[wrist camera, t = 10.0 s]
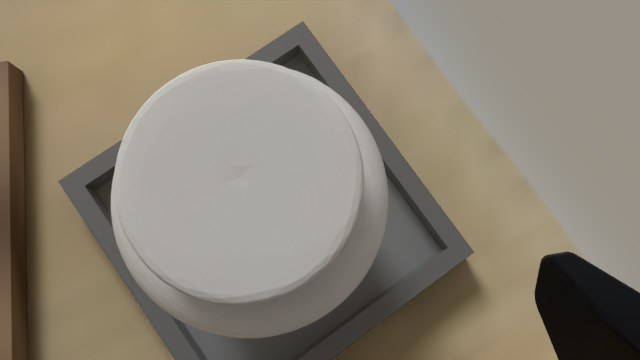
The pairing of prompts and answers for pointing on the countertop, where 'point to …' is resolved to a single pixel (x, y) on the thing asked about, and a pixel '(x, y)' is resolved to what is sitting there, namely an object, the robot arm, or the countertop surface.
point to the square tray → (373, 291)
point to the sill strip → (12, 217)
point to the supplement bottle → (248, 199)
